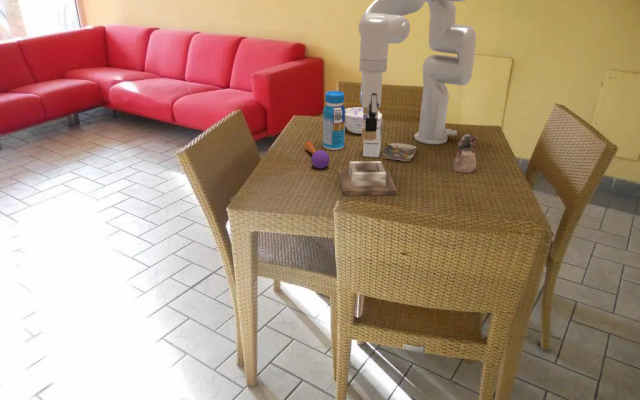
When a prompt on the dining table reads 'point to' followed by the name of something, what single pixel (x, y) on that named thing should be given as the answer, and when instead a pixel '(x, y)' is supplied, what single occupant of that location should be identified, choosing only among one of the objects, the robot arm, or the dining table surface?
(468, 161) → the figurine
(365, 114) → the sprinkles bottle
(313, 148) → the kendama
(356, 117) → the paper bowls
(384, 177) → the socket board
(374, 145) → the syrup box
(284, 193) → the dining table surface
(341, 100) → the beverage bottle
